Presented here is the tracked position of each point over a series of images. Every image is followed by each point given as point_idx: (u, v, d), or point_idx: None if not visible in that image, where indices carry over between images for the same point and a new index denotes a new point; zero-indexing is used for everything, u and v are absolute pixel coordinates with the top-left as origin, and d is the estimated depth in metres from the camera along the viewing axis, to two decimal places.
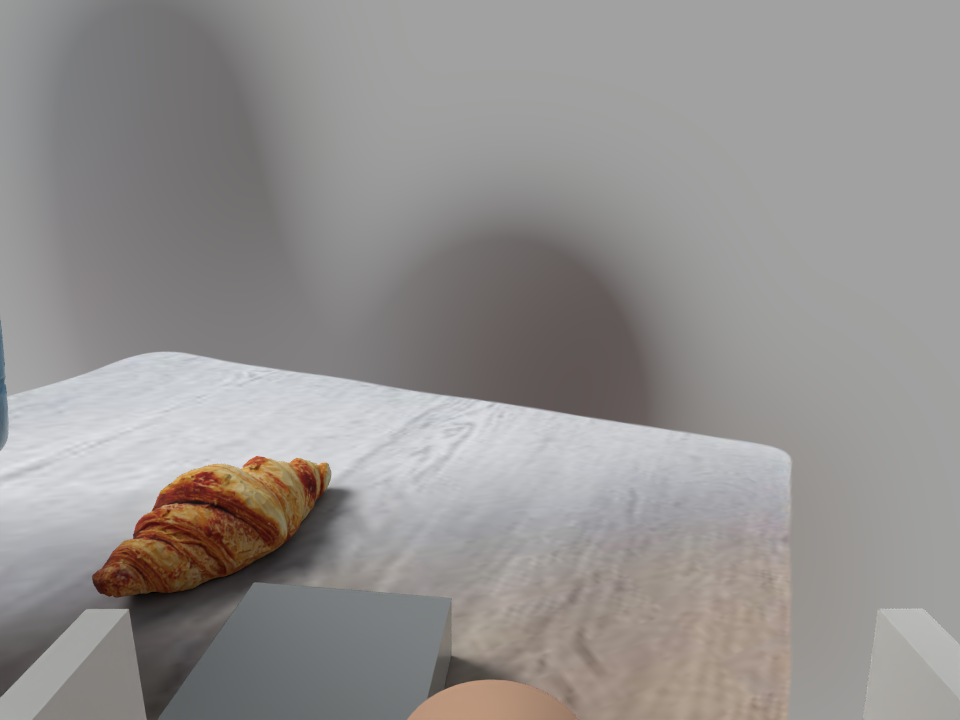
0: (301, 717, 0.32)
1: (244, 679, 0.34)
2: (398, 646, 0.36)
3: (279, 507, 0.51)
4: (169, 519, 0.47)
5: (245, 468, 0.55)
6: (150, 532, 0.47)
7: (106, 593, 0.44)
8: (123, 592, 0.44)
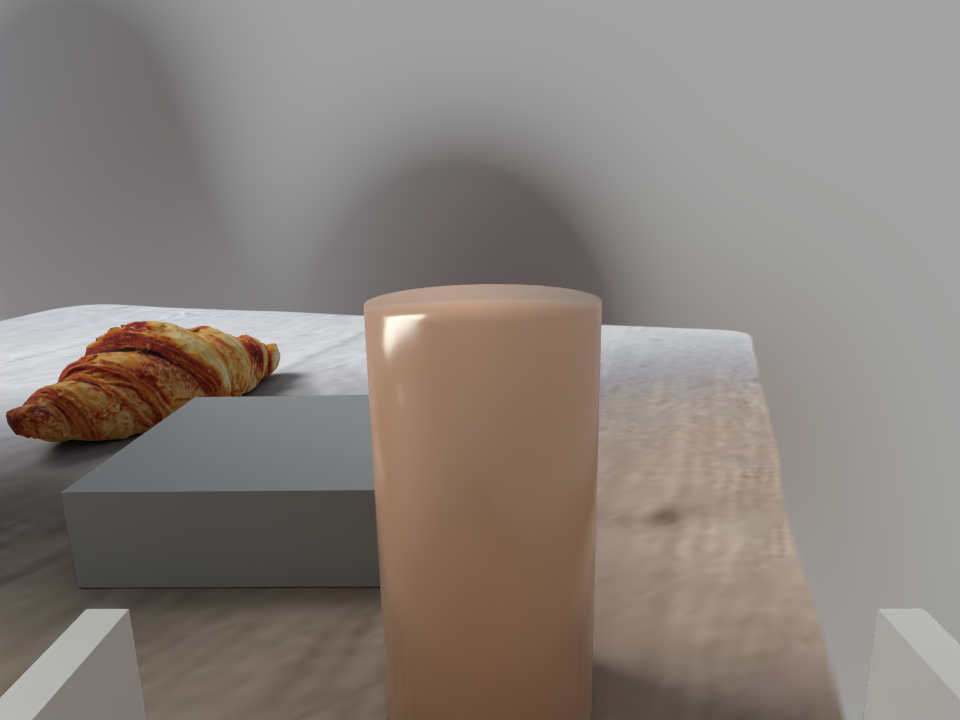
0: (253, 465, 0.28)
1: (186, 448, 0.30)
2: (361, 422, 0.33)
3: (221, 359, 0.47)
4: (96, 363, 0.43)
5: None
6: (75, 376, 0.42)
7: (23, 432, 0.39)
8: (42, 430, 0.40)
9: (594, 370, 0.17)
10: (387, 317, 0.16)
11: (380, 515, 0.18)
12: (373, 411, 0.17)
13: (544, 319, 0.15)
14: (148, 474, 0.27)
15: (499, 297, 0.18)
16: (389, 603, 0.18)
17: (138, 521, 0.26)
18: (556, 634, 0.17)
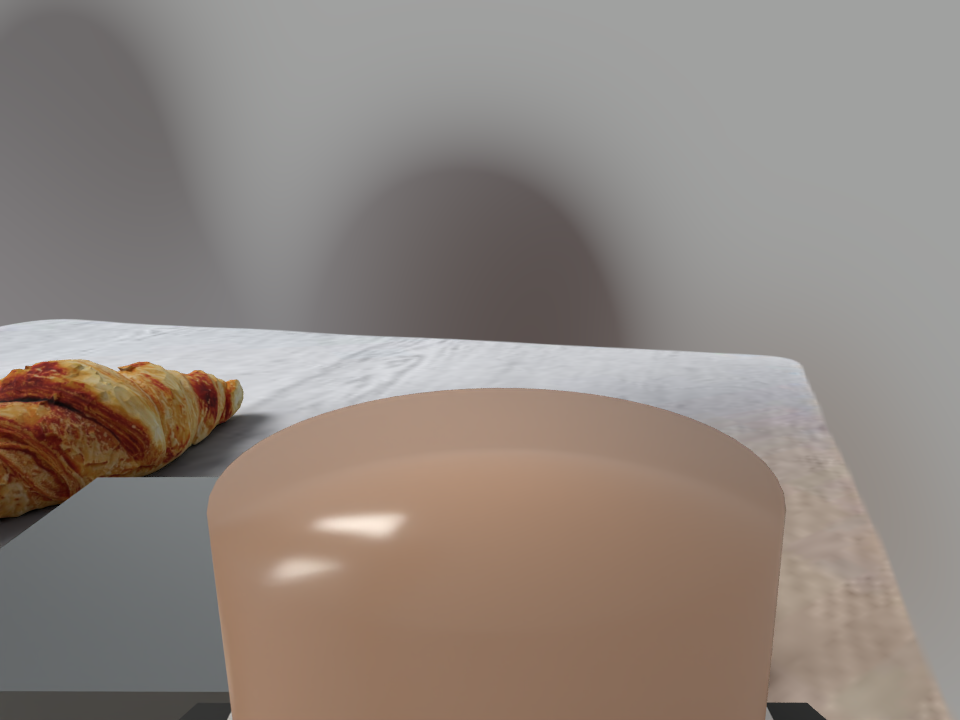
0: (134, 626, 0.18)
1: (46, 584, 0.20)
2: None
3: (152, 409, 0.37)
4: None
5: None
6: None
7: None
8: None
9: (770, 659, 0.07)
10: (237, 566, 0.06)
11: None
12: None
13: (677, 599, 0.05)
14: None
15: (530, 448, 0.08)
16: None
17: None
18: None
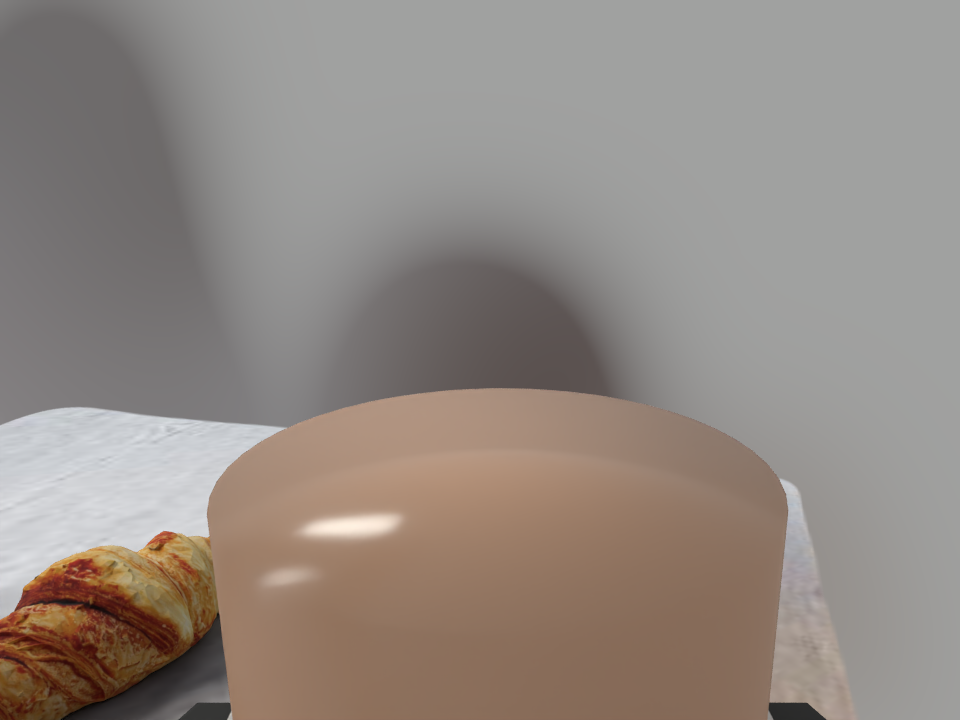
0: None
1: None
2: None
3: (181, 601, 0.39)
4: (25, 629, 0.35)
5: (145, 548, 0.43)
6: None
7: None
8: None
9: (772, 661, 0.07)
10: (238, 567, 0.06)
11: None
12: None
13: (680, 601, 0.05)
14: None
15: (531, 449, 0.08)
16: None
17: None
18: None
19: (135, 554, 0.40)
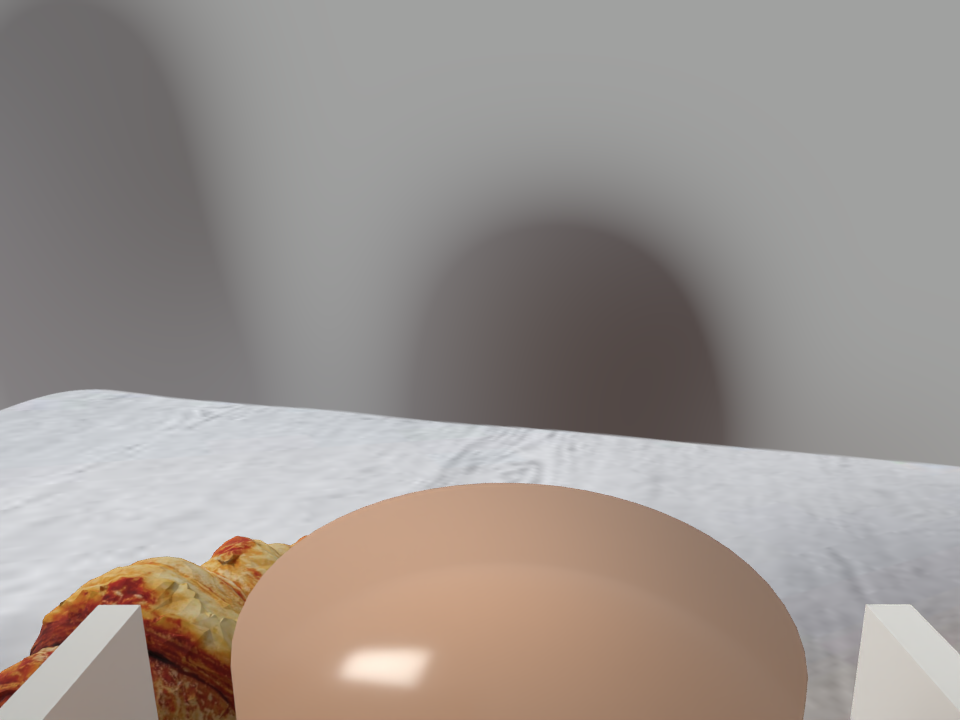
0: None
1: None
2: None
3: None
4: None
5: (213, 561, 0.31)
6: None
7: None
8: None
9: None
10: None
11: None
12: None
13: None
14: None
15: (549, 577, 0.08)
16: None
17: None
18: None
19: (202, 570, 0.28)
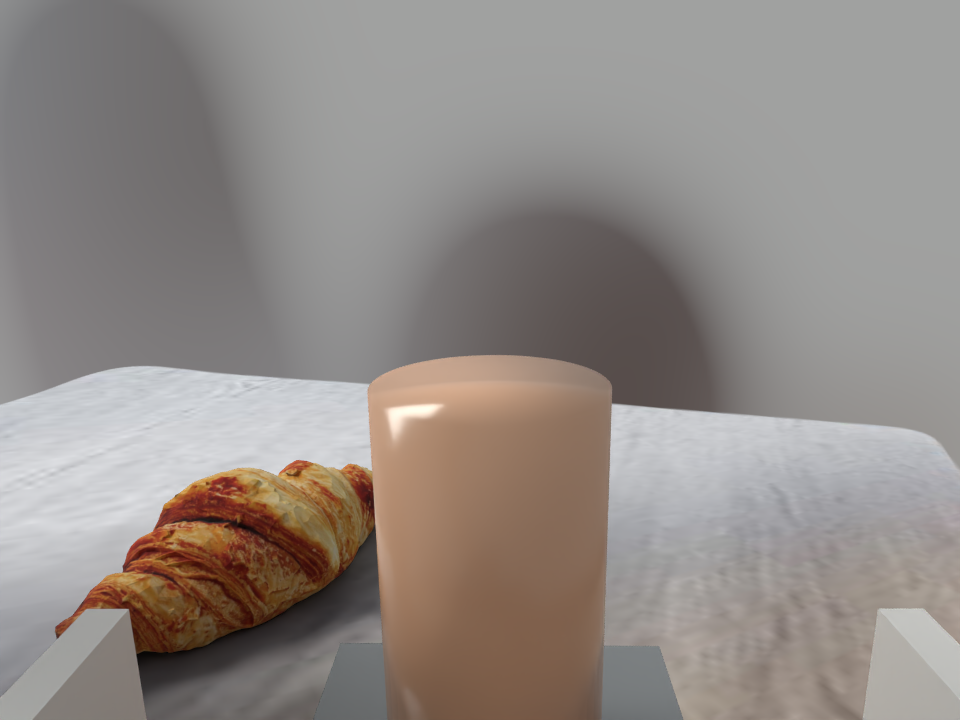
0: None
1: None
2: None
3: (328, 527, 0.36)
4: (172, 544, 0.33)
5: (281, 475, 0.40)
6: (145, 562, 0.32)
7: None
8: None
9: (603, 461, 0.16)
10: (390, 412, 0.15)
11: (384, 602, 0.17)
12: (377, 499, 0.17)
13: (552, 419, 0.15)
14: None
15: (506, 379, 0.18)
16: (392, 690, 0.18)
17: None
18: None
19: (277, 476, 0.37)
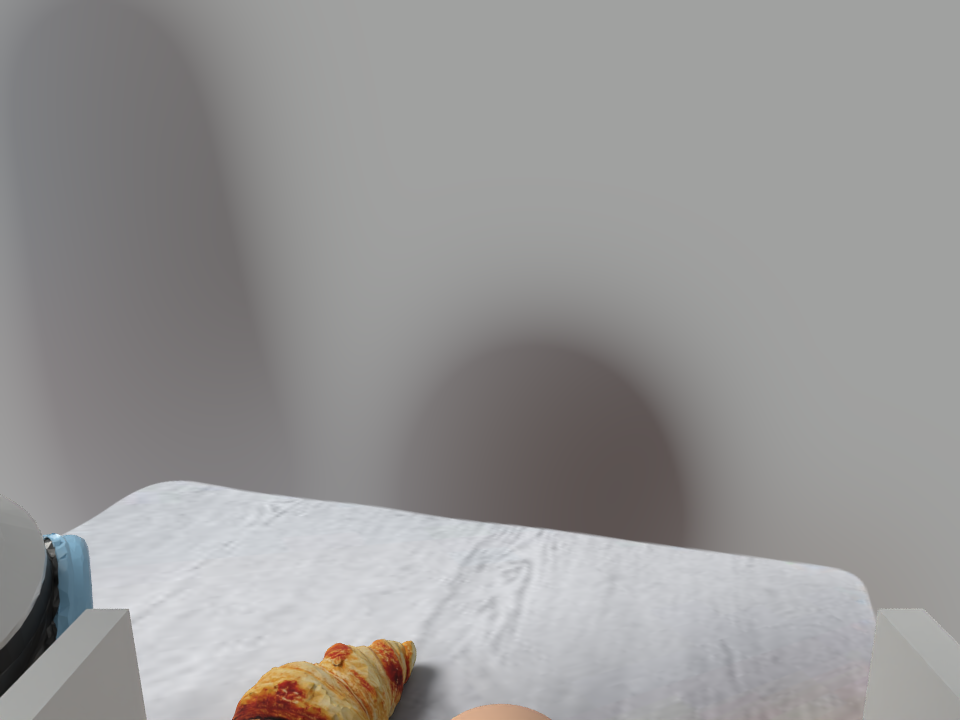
0: None
1: None
2: None
3: None
4: None
5: (328, 662, 0.51)
6: None
7: None
8: None
9: None
10: None
11: None
12: None
13: None
14: None
15: None
16: None
17: None
18: None
19: (326, 674, 0.48)
